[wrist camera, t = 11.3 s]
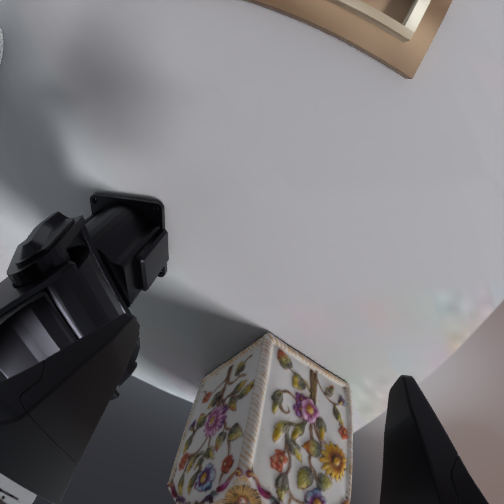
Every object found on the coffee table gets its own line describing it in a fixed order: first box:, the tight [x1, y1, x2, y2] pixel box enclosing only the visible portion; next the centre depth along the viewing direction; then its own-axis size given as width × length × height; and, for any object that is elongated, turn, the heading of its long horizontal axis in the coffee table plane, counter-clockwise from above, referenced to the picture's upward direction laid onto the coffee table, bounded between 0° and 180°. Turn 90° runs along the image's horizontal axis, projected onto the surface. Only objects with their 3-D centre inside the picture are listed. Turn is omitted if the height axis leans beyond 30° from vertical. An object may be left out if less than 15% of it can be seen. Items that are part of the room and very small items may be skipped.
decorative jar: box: [167, 333, 353, 504], centre depth 23 cm, size 12×12×18 cm
